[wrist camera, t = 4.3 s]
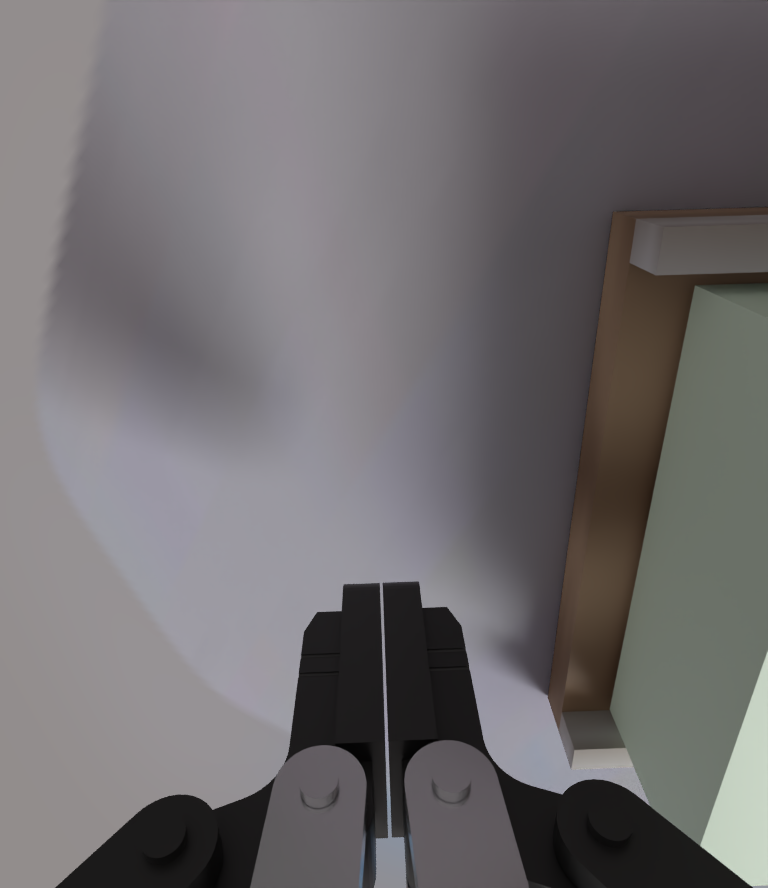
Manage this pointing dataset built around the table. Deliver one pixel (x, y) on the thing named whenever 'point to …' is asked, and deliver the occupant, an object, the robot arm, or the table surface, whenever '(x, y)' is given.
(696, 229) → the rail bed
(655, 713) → the slider block
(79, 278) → the table surface
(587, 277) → the table surface
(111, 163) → the table surface
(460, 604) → the table surface
